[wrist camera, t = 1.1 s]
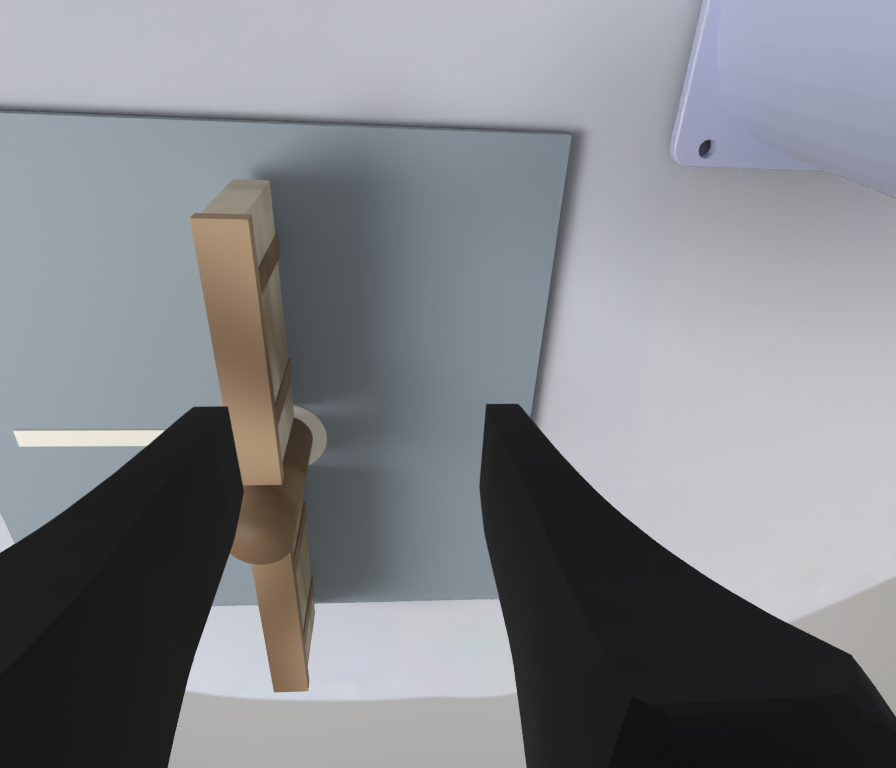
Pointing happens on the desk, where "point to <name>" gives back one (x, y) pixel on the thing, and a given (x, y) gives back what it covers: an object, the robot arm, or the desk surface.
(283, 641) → the fence post
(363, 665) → the desk surface
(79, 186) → the board
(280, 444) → the fence panel
